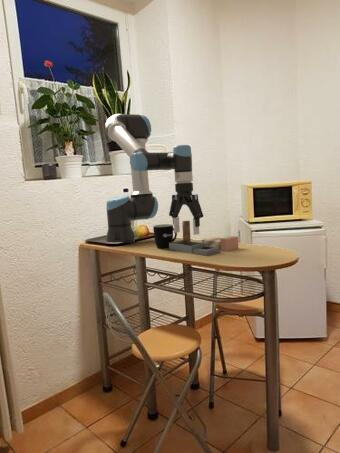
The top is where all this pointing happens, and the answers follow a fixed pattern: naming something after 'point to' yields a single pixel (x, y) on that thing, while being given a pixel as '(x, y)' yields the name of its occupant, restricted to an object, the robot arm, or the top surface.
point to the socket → (206, 250)
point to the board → (212, 242)
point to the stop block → (229, 243)
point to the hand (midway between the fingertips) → (186, 233)
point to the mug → (163, 235)
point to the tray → (184, 246)
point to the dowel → (186, 233)
